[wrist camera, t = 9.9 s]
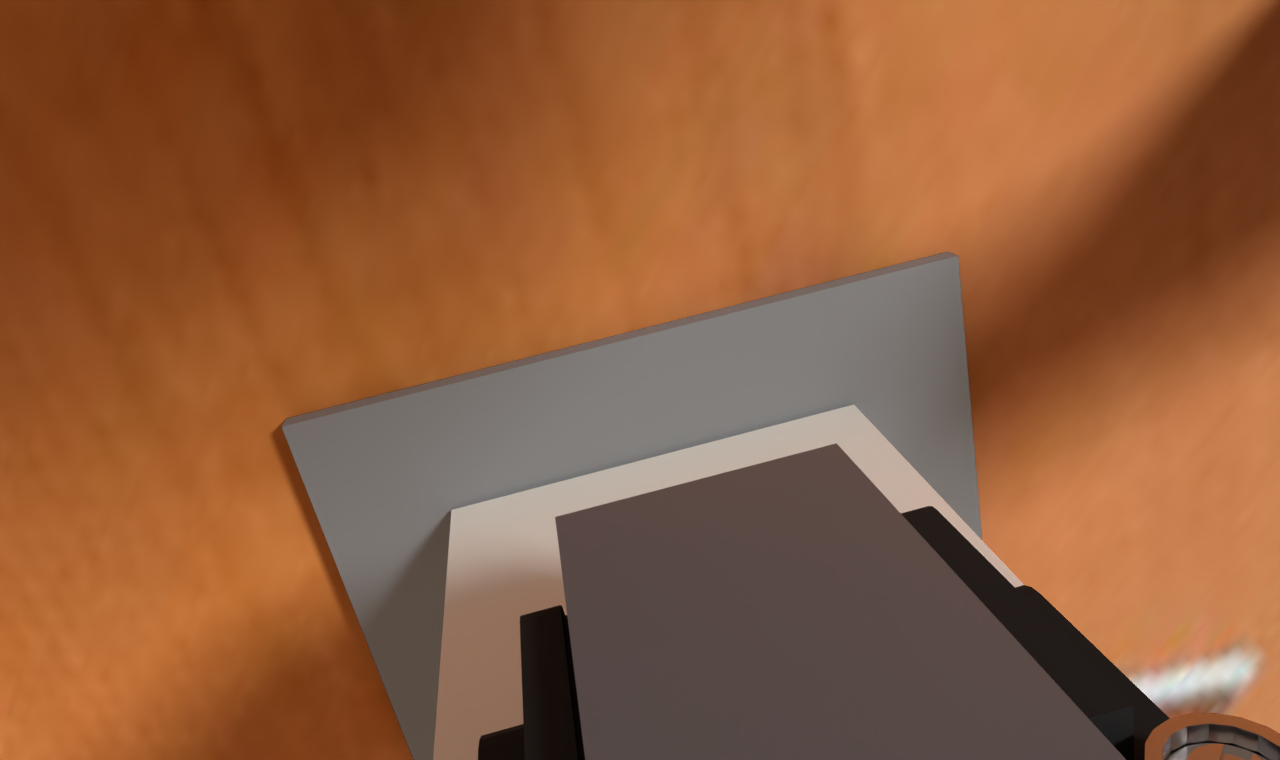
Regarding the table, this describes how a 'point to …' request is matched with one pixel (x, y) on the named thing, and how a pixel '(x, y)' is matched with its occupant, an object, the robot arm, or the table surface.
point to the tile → (531, 568)
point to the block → (793, 630)
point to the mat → (621, 433)
